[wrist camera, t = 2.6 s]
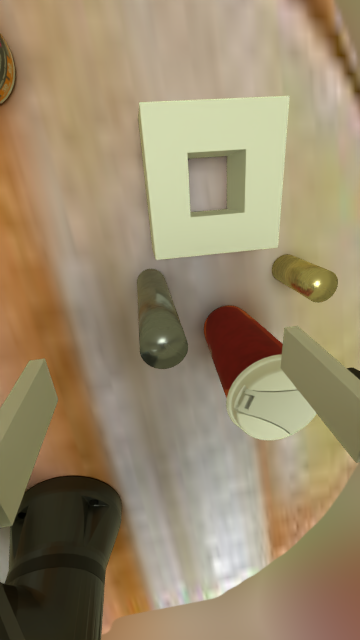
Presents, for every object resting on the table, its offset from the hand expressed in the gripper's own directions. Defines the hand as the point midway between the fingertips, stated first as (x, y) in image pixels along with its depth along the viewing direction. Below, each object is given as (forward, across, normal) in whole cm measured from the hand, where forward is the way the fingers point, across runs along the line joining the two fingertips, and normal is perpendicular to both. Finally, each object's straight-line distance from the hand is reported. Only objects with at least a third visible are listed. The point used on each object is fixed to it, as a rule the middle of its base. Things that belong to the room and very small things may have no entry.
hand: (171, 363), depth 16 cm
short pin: (+16, +15, 0) cm, 22 cm away
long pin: (+16, 0, 0) cm, 16 cm away
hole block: (+16, +6, +9) cm, 19 cm away
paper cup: (+16, +8, -7) cm, 19 cm away
